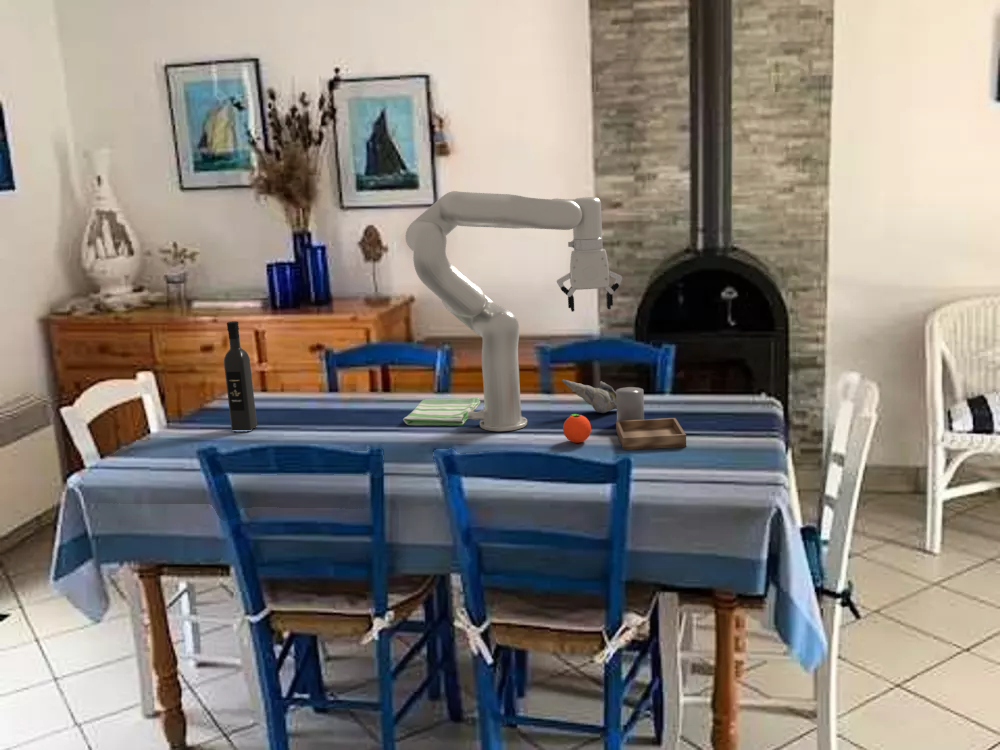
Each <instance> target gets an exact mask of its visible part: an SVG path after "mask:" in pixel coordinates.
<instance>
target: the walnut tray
mask: <svg viewBox="0 0 1000 750" xmlns="http://www.w3.org/2000/svg"><path fill="white" fill-rule="evenodd" d="M615 429H616V432H615V433H616V435H617V437H618V440H619V443H620V445H621V447H622V449H623V451H629V450H630V451H631V450H632V451H634V450H650V449H653V450H654V449H667V448H668V449H672V448H687V434H686V433H685V432H686V431H684V429H683V428H682V426H681V425H680V423H679V421H678V420H677V418H676V417H668V418H650V419H648V418H647V419H645V418H644V420H626V421H617V420H616V421H615Z"/></svg>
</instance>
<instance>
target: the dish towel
mask: <svg viewBox="0 0 1000 750" xmlns="http://www.w3.org/2000/svg"><path fill="white" fill-rule="evenodd" d="M480 404H481V400H480V397H470V398H469V397H468V398H434V397H433V398H426V399H425V398H424V399H422V400H421V401H420V402H418V405H416V407H415V408H414V409H413V410H412V411H410V413H408V415H407V416H405V417H404V418H403V419H402V420H403V422H404V423H405V424H406V425H408V426H464V424H465V423H466V421H467V420H469V419H468V412H472V411H475V410H476V409H477V408H478V407H479V405H480Z"/></svg>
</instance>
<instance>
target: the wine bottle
mask: <svg viewBox="0 0 1000 750" xmlns="http://www.w3.org/2000/svg"><path fill="white" fill-rule="evenodd" d="M239 327H240V325H239V321H238V320H237V321H236V320H234V321H228V322H226V328H227V329H226V330H227V332H228V343H229V350H227V352H226V353H225V355H224V356H223V368H224V376H225V377H224V378H225V385H226V391H227V392H226V393H227V394H226V395H227V402H228V409H229V418H230V426H231V427H230V428H231V431H232V430H251V429H253V428H254V427H256V426H257V427H258V421H257V412H256V404H255V396H254V395H255V394H254V385H253V378H252V377H253V376H252V369H251V368H252V366H251V359H250V356H249V354H248V352H247V351H246V350H245V349H243V348H242V345H241V341H240V339H241V338H240V332H239V330H240V328H239ZM257 427H256V428H257ZM253 430H254V429H253Z"/></svg>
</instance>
